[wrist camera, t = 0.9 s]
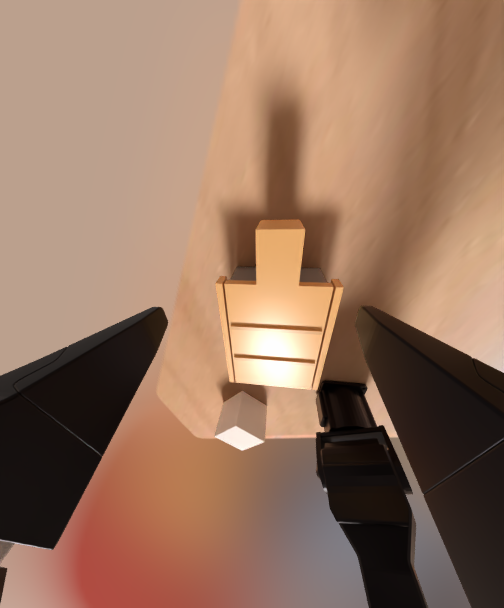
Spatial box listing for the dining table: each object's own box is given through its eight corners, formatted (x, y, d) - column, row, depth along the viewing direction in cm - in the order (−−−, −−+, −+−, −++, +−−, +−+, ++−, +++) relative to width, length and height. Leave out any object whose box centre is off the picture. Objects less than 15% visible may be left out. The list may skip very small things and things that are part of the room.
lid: (352, 218, 14) (374, 228, 11) (315, 378, 24) (321, 409, 21) (213, 220, 15) (195, 229, 12) (232, 370, 25) (225, 399, 22)
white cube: (267, 405, 35) (264, 442, 30) (247, 415, 38) (242, 450, 33) (242, 390, 34) (235, 426, 28) (223, 402, 36) (214, 436, 31)
